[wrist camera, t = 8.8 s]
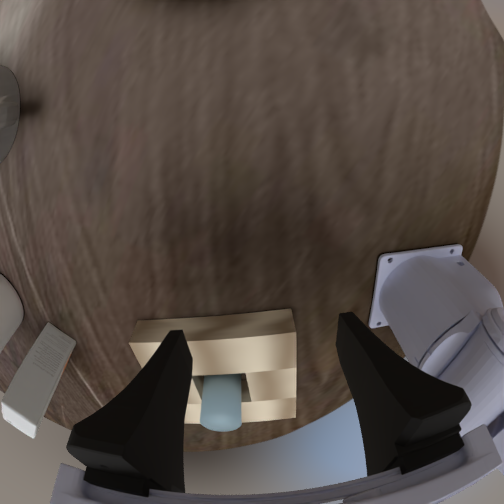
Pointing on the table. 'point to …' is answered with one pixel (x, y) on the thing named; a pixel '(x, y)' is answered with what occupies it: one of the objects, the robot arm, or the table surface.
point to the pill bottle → (9, 311)
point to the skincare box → (37, 380)
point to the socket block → (234, 358)
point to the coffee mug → (8, 110)
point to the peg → (221, 402)
